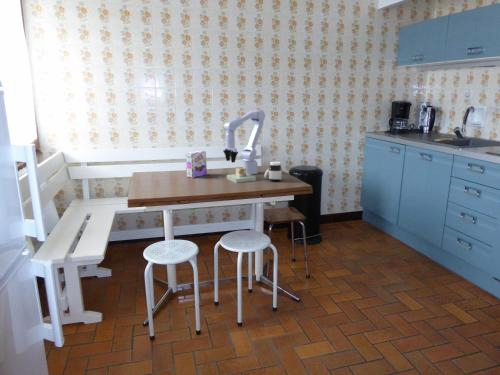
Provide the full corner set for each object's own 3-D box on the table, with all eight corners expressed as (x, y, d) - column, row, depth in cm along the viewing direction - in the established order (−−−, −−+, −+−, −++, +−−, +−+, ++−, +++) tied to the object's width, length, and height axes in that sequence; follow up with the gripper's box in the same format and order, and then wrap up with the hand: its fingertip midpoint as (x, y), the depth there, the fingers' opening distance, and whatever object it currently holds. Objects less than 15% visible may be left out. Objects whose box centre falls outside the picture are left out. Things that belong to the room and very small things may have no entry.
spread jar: (280, 182, 239) (280, 163, 236) (262, 181, 241) (262, 163, 239) (282, 178, 251) (282, 160, 248) (265, 177, 253) (265, 160, 250)
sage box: (246, 177, 257) (246, 173, 256) (255, 181, 245) (255, 176, 244) (226, 179, 251) (226, 175, 250) (235, 183, 239) (235, 179, 238)
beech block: (242, 174, 251) (242, 167, 249) (246, 176, 246) (246, 168, 245) (235, 175, 248) (235, 168, 247) (239, 177, 244) (239, 169, 243)
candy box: (192, 178, 253) (191, 153, 249) (186, 177, 257) (185, 152, 253) (207, 174, 264) (206, 150, 260) (200, 173, 267) (200, 150, 263)
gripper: (220, 140, 255) (220, 160, 258) (229, 142, 242) (230, 163, 246) (229, 139, 258) (230, 159, 261) (239, 141, 246) (239, 162, 249)
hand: (230, 161), depth 254 cm, fingers open, 7 cm apart
